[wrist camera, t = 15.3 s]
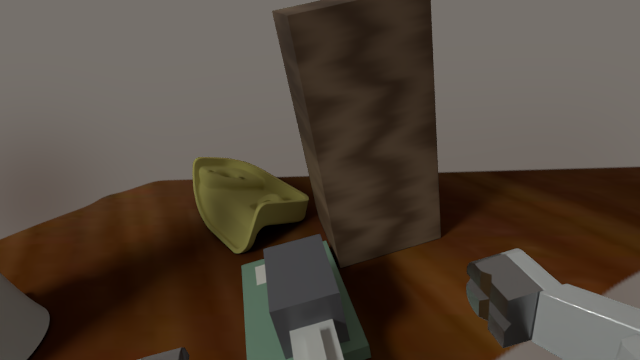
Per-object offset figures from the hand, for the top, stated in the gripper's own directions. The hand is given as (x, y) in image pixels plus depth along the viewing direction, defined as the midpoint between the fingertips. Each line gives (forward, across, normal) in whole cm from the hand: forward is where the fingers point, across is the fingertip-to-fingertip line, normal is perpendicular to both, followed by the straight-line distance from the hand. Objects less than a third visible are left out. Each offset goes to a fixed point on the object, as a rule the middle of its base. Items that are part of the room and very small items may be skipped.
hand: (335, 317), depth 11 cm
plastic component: (+42, +5, +21) cm, 47 cm away
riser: (+30, -10, +20) cm, 37 cm away
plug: (+13, +1, +19) cm, 23 cm away
